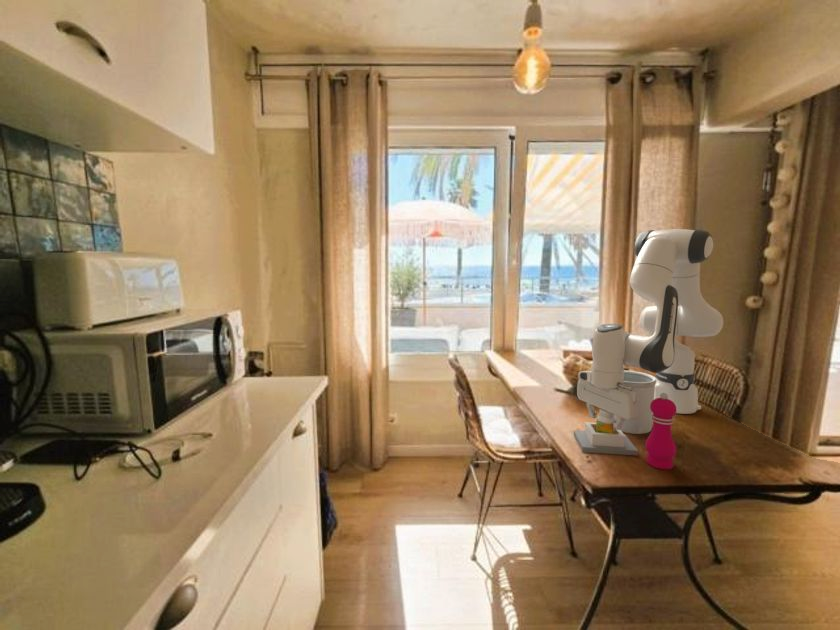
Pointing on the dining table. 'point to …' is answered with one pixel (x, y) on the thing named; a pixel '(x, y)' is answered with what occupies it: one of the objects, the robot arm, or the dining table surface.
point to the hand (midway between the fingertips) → (604, 423)
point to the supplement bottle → (605, 422)
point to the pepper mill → (661, 434)
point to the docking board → (604, 441)
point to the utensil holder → (640, 402)
